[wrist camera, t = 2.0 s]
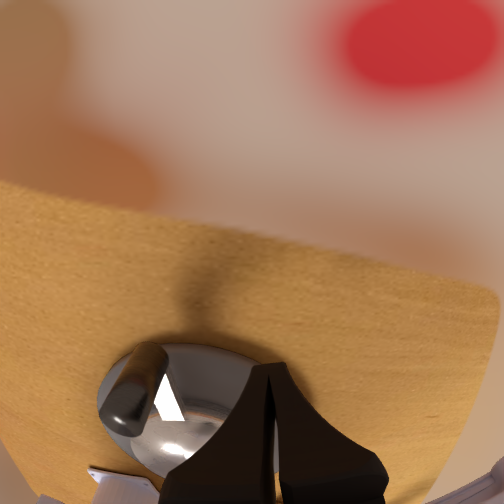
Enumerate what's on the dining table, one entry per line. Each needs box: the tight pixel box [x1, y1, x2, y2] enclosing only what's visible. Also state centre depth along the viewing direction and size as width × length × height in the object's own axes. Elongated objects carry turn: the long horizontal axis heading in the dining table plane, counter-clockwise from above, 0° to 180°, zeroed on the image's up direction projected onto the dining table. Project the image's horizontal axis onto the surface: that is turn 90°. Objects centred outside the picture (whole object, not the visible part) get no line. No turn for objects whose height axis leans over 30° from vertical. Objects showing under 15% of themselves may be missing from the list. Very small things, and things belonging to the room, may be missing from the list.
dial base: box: [97, 343, 279, 474], centre depth 19 cm, size 16×16×1 cm
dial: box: [99, 342, 231, 478], centre depth 15 cm, size 14×9×6 cm, turn 8°
